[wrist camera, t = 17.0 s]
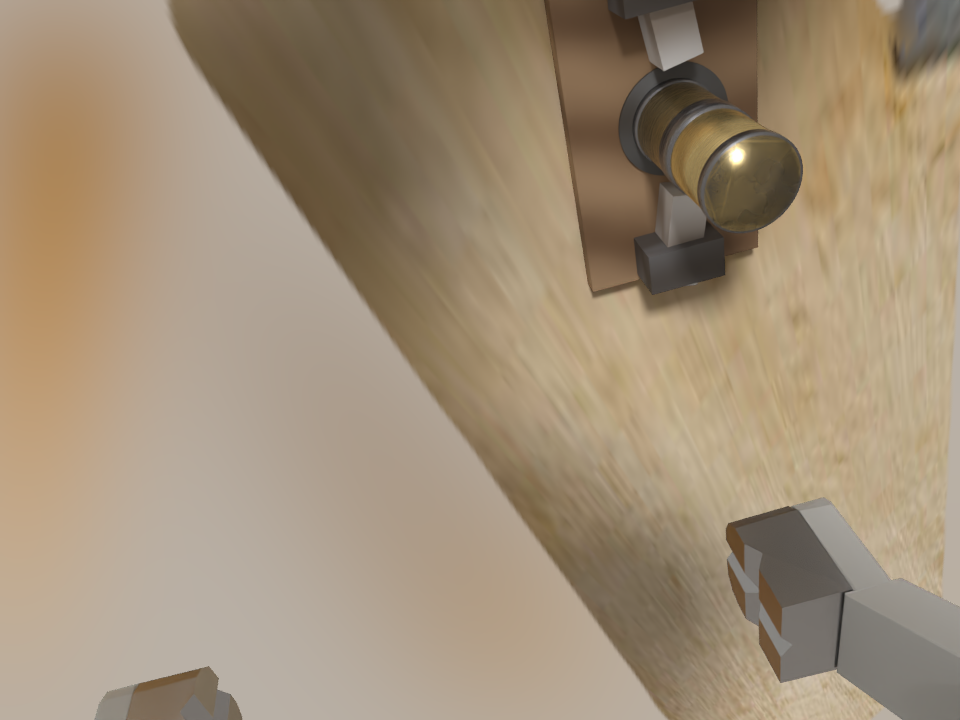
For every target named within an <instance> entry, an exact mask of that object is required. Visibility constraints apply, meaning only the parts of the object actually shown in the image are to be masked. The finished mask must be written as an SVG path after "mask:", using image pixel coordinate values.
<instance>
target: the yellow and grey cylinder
mask: <svg viewBox="0 0 960 720" xmlns="http://www.w3.org/2000/svg"><path fill="white" fill-rule="evenodd" d="M632 133H633V138H634V141H635V144H636V146H637V148H638V149H639V151H640V152H641V153H642V154H643V155H644V156H645V157H646V158H647V159H649V160H650V161H651V162H653V163H655V164H656V165H657V166H658V167H659V168H660V169H661V170H662V171H663V173H664V174H665V176H666V177H667V178H668V180H669V181H670V182H671V183H672V184H673V185H674V186H675V187H676V188H677V189H679V190H680V191H681V192H682V193H683V194H685V195H687V196H689V197H690V198H691V199H692V200H693V201H694V202H695V203H696V204H697V205H698V206H699V207H700V208H701V210H702V212H703V213H704V215H705V216H706V217H707V218H708V219H709V220H710V221H711V222H712V223H713V224H714V225H715V226H717V227H718V228H720V229H722V230H724V231H727V232H730V233H748V232H753V231H756V230H759V229H761V228H764V227H766V226H767V225H769V224H771V223H772V222H774V221H775V220H776V219H778V218H779V217H780V216H781V215H782V214H783V213H784V212H785V211H786V210H787V209H788V207H789V206H790V205H791V203H792V202H793V200H794V199H795V197H796V195H797V193H798V191H799V188H800V185H801V181H802V174H803V165H802V159H801V156H800V154H799V152H798V150H797V148H796V147H795V146H794V144H793V143H792V142H790V141H789V140H788V139H786V138H785V137H783V136H782V135H780V134H778V133H776V132H774V131H771V130H768V129H766V128H765V127H763V126H762V125H760V124H759V123H757V122H755V121H754V120H753V119H752V118H751V117H750V116H749V115H748V114H747V113H746V112H744V111H742V110H741V109H739V108H738V107H736V106H735V105H733V104H731V103H730V102H728V101H725V100H721V99H720V98H718V97H717V96H715V95H714V94H712V93H711V92H710V91H709V90H708V89H707V88H706V87H705V86H703V85H702V84H700V83H699V82H697V81H695V80H692V79H689V78H673V79H669V80H666V81H664V82H661V83H659V84H658V85H656V86H655V87H653V88H652V89H651V90H650V91H649V92H648V93H647V94H646V95H645V96H644V97H643V99H642V100H641V102H640V103H639V105H638V107H637V109H636V112H635V114H634V118H633V125H632Z"/></svg>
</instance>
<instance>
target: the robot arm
mask: <svg viewBox="0 0 960 720" xmlns="http://www.w3.org/2000/svg"><path fill="white" fill-rule="evenodd" d="M726 540H727V542H728V544H729V546H730V548H731V550H732V551H733V552H732V553H731V554H730V556H729V557H728V558H727V565H728V575H729V578H730V582H731V586H732V590H733V592H734V595H735V597H736V600H737V602H738V604H739V606H740V608H741V610H742V612H743V614H744V616H745V618H746V619H747V620H749V621H751V622H752V623H754V624H756V625H758V626H759V644H760V646H761V648H762V650H763V652H764V654H765V655H766V657H767V659H768V661H769V663H770V665H771V667H772V668H773V670H774V672H775V674H776V676H777V678H778V679H779V681H780V683H782V682H787V681H791V680H795V679H799V678H803V677H807V676H811V675H815V674H819V673H823V672H828V671H832V670H836V669H837V673H838V674H840V675H841V676H843V677H844V678H845V679H847V680H848V681H849V682H851V683H852V684H854V685H855V686H856V687H858V688H859V689H861V690H862V691H863V692H865V693H866V694H868V695H869V696H870V697H872V698H873V699H874V700H876V701H877V702H879V703H880V704H881V705H883V706H884V707H886V708H887V709H888V710H890V711H891V712H893V713H894V714H895V715H897V716H898V717H900V718H901V719H902V720H960V607H959V606H957V605H954V604H953V603H951V602H949V601H947V600H944V599H943V598H941V597H939V596H937V595H935V594H933V593H930V592H928V591H926V590H924V589H922V588H920V587H918V586H916V585H914V584H912V583H910V582H908V581H906V580H904V579H902V578H899V579H895V580H891V579H890V578H889V577H888V575H887V574H886V573H885V571H884V570H883V569H882V568H881V566H880V565H879V564H878V562H877V561H876V560H875V558H874V557H873V556H872V554H871V553H870V552H869V551H868V549H867V548H866V547H865V545H864V544H863V543H862V541H861V540H860V539H859V538H858V536H857V535H856V534H855V532H854V531H853V530H852V528H851V527H850V526H849V525H848V523H847V522H846V521H845V519H844V518H843V517H842V515H841V514H840V513H839V511H838V510H837V509H836V508H835V506H834V505H833V504H832V502H831V501H829V500H827V499H826V498H819V499H815V500H812V501H808V502H805V503H801V504H798V505H794V506H791V507H789V506H787V507H784V508H780V509H777V510H773V511H770V512H766V513H763V514H759V515H756V516H752V517H749V518H745V519H742V520H739V521H735V522H732V523H728V525H727V528H726ZM218 679H219V678H218V677H217V676H216V674H215V673H214V672H213V671H212V670H211V668H210V667H209V666H208V667H204V668H200V669H196V670H192V671H188V672H184V673H180V674H176V675H172V676H168V677H163V678H159V679H155V680H151V681H147V682H143V683H139V684H135V685H131V686H127V687H124V688H120V689H117V690H112V691H109V692H107V693H106V695H105V696H104V697H103V699H102V700H101V702H100V704H99V706H98V709H97V713H96V717H95V720H242V716H241V713H240V710H239V707H238V705H237V703H236V701H235V700H234V698H233V697H232V696H231V694H228V693H225V692H222V691H220V690H217V686H218Z"/></svg>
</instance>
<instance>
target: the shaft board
mask: <svg viewBox="0 0 960 720" xmlns="http://www.w3.org/2000/svg"><path fill="white" fill-rule="evenodd" d="M544 2H545V8H546V15H547V21H548V27H549V34H550V40H551V47H552V53H553V60H554V66H555V73H556V79H557V86H558V92H559V99H560V105H561V112H562V118H563V124H564V131H565V137H566V144H567V150H568V157H569V163H570V170H571V176H572V183H573V189H574V196H575V202H576V208H577V215H578V221H579V228H580V234H581V241H582V247H583V254H584V260H585V267H586V273H587V280H588V284H589V286H590V288H591V289H592V291H593V292H595V291H599V290H603V289H606V288H610V287H614V286H617V285H621V284H625V283H628V282H632V281H636V280H639V279H641V280H642V281H643V282H644V284H645V285H646V287H647V288H648V289H649V291H650V292H651V294H652V295H654V294H657V293H661V292H665V291H668V290H672V289H676V288H679V287H683V286H690V285H697V284H698V282H701V281H705V280H709V279H712V278H716V277H720V276H723V275H725V256H727V255H731V254H735V253H738V252H742V251H746V250H749V249H753V248H757V247H758V230H756V231H753V232H748V233H730V232H727V231H724V230H722V229H720V228H718V227H717V226H715V225H714V224H713V223H712V222H711V221H710V220H709V219H708V218H707V217H706V216H705V215H704V213H703V212H702V210H701V208H700V207H699V206H698V205H697V204H696V203H695V202H694V201H693V200H692V199H691V198H690V197H689V196H687V195H685V194H683V193H682V192H681V191H680V190H679V189H677V188H676V187H675V186H674V185H673V184H672V183H671V182H670V181H669V180H668V178H667V177H666V176H665V174H664V173H663V171H662V170H661V169H660V168H659V167H658V166H657V165H656V164H655V163H653V162H651V161H650V160H649V159H647V158H646V157H645V156H644V155H643V154H642V153H641V152H640V151H639V149H638V148H637V146H636V144H635V141H634V138H633V133H632V125H633V118H634V114H635V112H636V109H637V107H638V105H639V103H640V102H641V100H642V99H643V97H644V96H645V95H646V94H647V93H648V92H649V91H650V90H651V89H652V88H653V87H655V86H656V85H658V84H659V83H661V82H664V81H666V80H669V79H673V78H689V79H692V80H695V81H697V82H699V83H700V84H702V85H703V86H705V87H706V88H707V89H708V90H709V91H710V92H711V93H712V94H714V95H715V96H717V97H718V98H720V99H721V100H725V101H728V102H730V103H731V104H733V105H735V106H736V107H738V108H739V109H741V110H742V111H744V112H746V113H747V114H748V115H749V116H750V117H751V118H752V119H753V120H754V121H755V122H757V0H544Z"/></svg>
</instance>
